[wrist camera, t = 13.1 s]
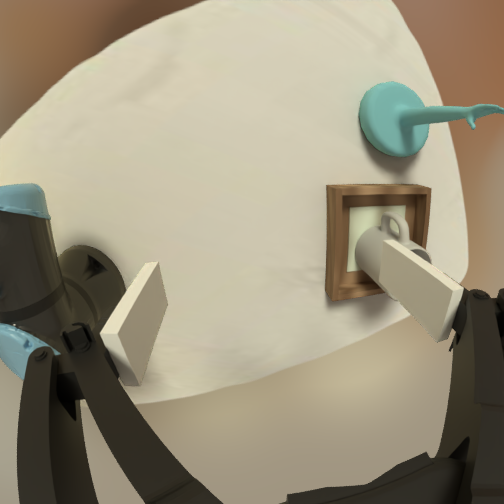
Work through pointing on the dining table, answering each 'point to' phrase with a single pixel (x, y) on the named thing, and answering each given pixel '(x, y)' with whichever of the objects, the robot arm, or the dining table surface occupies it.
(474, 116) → the teal branch stand
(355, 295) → the walnut box
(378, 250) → the mug
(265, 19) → the dining table surface
